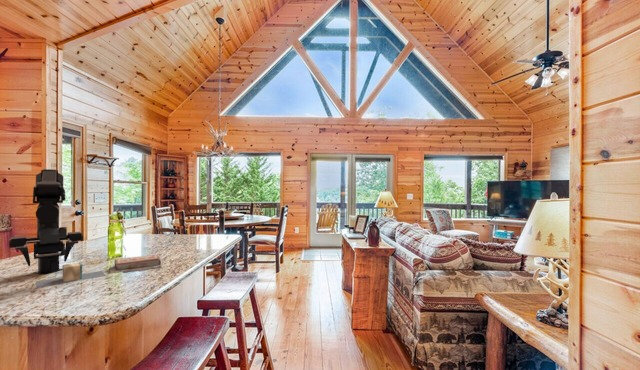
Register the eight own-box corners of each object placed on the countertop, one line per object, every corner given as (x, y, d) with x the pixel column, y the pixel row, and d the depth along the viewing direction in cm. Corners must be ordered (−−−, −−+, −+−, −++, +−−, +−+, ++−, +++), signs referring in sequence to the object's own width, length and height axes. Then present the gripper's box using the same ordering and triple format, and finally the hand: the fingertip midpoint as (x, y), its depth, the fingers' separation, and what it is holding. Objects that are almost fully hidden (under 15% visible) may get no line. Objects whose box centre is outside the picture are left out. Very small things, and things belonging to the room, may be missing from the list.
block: (64, 267, 104) (82, 265, 108) (62, 264, 107) (80, 262, 111) (64, 281, 104) (82, 278, 108) (62, 278, 107) (79, 275, 111)
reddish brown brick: (159, 252, 133) (161, 257, 124) (159, 263, 133) (161, 268, 124) (110, 257, 123) (109, 263, 115) (110, 269, 123) (109, 275, 115)
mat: (36, 289, 98) (36, 287, 98) (35, 282, 104) (35, 281, 104) (106, 276, 111) (106, 275, 111) (101, 271, 118) (101, 270, 118)
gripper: (9, 223, 90) (8, 274, 90) (85, 219, 104) (85, 263, 104) (9, 220, 98) (9, 267, 98) (80, 216, 112) (80, 257, 112)
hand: (47, 263), depth 103 cm, fingers open, 9 cm apart
